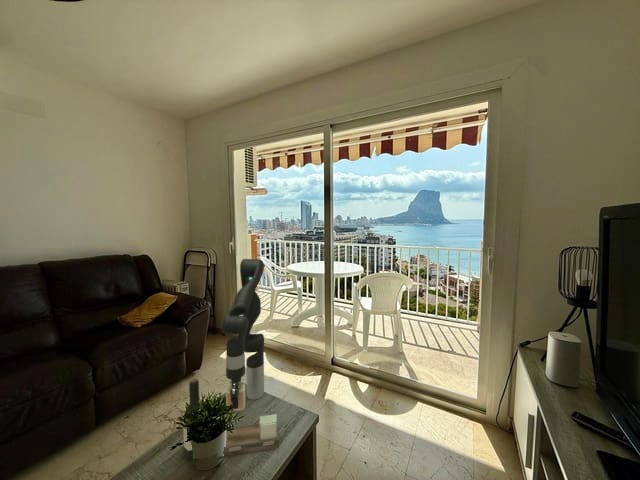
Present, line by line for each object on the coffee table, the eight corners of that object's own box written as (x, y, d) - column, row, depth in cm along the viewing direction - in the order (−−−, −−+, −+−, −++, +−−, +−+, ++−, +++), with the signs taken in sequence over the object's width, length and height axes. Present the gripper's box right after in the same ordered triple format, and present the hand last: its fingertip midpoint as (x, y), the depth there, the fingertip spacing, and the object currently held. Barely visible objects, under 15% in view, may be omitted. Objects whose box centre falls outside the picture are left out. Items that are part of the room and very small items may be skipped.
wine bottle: (197, 462, 97) (195, 388, 95) (179, 458, 99) (177, 385, 97) (211, 444, 105) (209, 375, 103) (193, 441, 107) (192, 373, 105)
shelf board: (222, 433, 111) (222, 426, 110) (277, 425, 115) (277, 417, 115) (216, 459, 99) (216, 450, 98) (278, 448, 103) (278, 440, 103)
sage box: (260, 434, 108) (259, 416, 108) (276, 431, 109) (276, 414, 109) (259, 443, 103) (259, 424, 103) (276, 440, 105) (276, 422, 104)
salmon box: (228, 404, 106) (227, 386, 106) (245, 402, 107) (245, 384, 107) (226, 412, 101) (226, 393, 101) (244, 410, 103) (244, 391, 103)
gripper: (243, 372, 97) (243, 414, 98) (246, 354, 111) (246, 391, 112) (222, 374, 96) (223, 417, 97) (228, 356, 110) (229, 393, 111)
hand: (236, 403), depth 104 cm, fingers closed on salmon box, 4 cm apart
